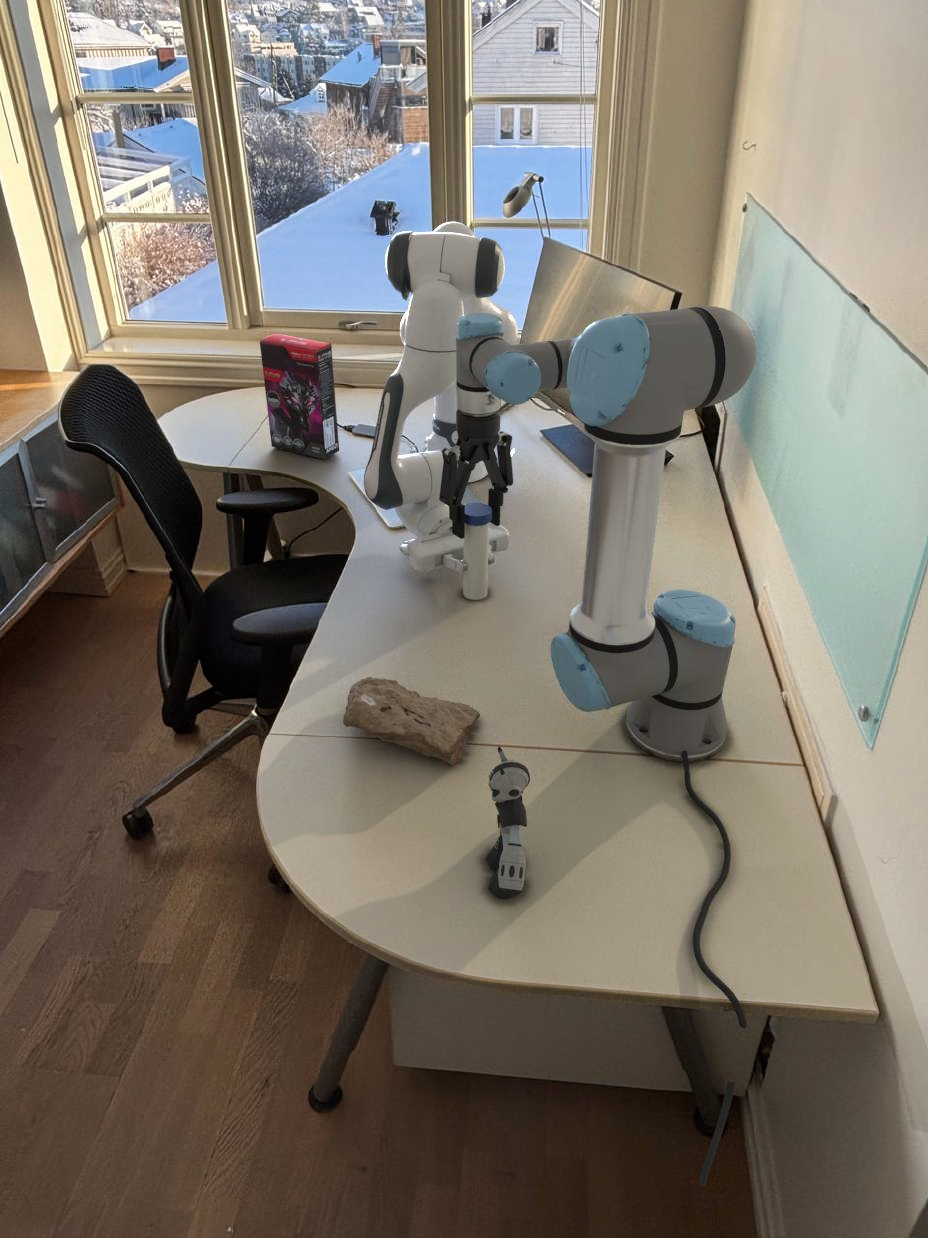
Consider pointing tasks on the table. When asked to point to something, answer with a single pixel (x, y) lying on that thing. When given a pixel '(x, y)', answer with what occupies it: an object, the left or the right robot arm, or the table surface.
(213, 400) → the table surface
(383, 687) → the stone
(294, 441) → the graphics card box
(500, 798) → the robot
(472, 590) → the white bottle
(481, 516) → the lid
